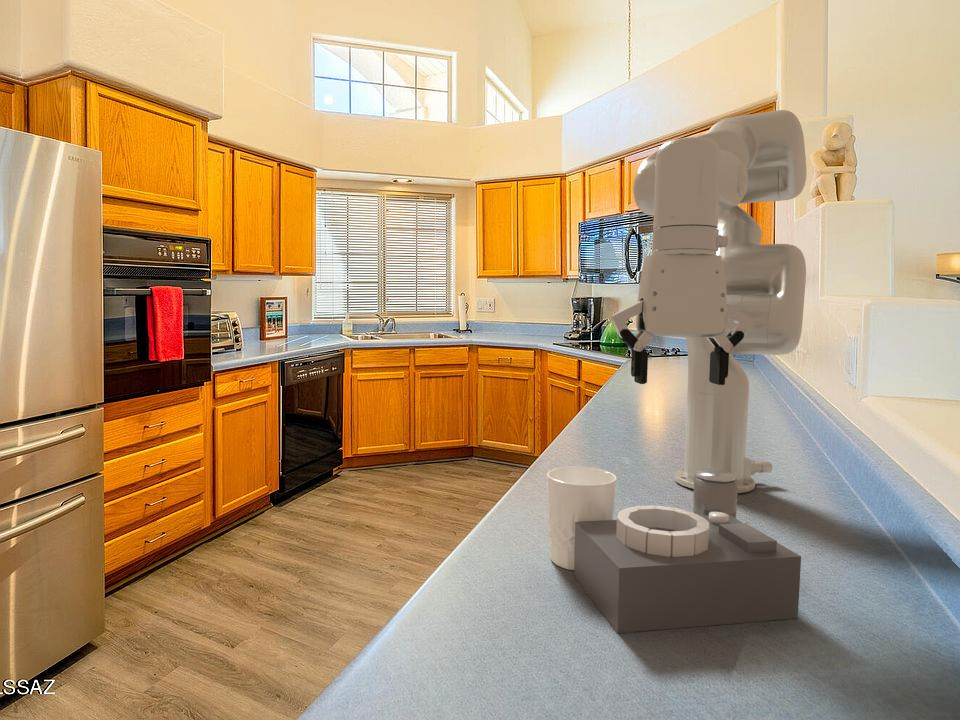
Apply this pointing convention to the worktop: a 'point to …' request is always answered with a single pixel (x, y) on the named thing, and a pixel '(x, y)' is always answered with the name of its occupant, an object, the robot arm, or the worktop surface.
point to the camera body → (683, 570)
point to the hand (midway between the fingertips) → (678, 383)
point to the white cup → (576, 506)
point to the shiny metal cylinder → (715, 492)
